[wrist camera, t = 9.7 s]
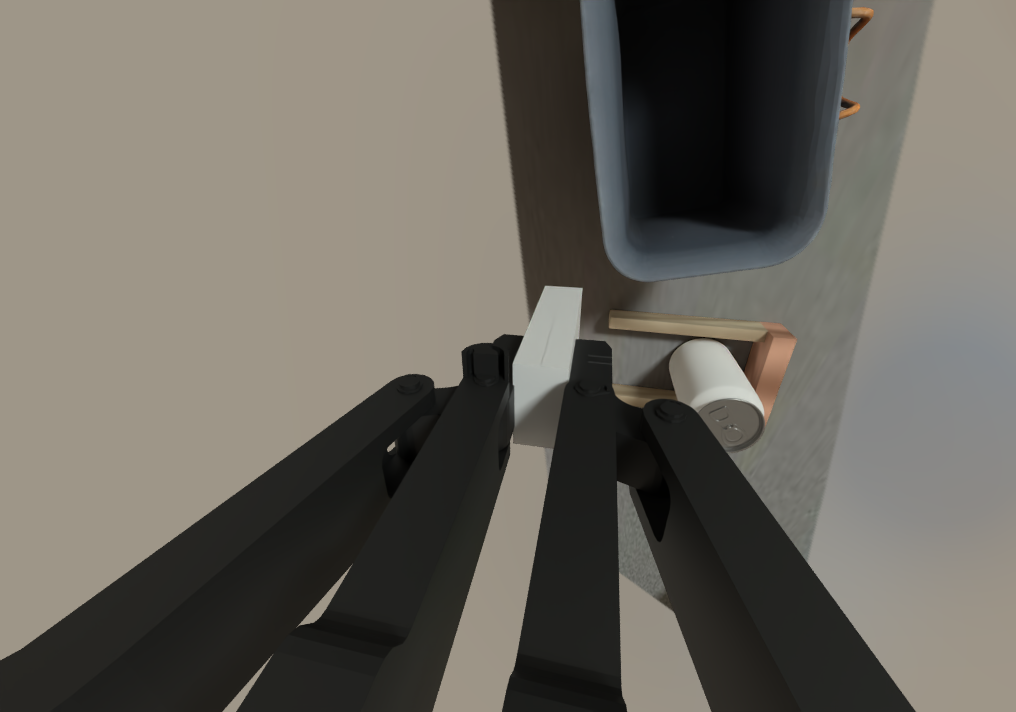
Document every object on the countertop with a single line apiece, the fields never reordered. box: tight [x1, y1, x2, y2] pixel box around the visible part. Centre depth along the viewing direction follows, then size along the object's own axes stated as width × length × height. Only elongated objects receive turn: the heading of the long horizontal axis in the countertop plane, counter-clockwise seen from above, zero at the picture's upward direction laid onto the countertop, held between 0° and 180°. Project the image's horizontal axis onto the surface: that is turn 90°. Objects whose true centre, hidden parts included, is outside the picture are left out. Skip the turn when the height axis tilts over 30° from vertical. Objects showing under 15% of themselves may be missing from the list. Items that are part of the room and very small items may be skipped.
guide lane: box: [609, 309, 797, 426], centre depth 44 cm, size 10×17×4 cm, turn 89°
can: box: [669, 338, 765, 453], centre depth 40 cm, size 6×6×12 cm
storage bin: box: [580, 0, 874, 282], centre depth 29 cm, size 21×16×14 cm
